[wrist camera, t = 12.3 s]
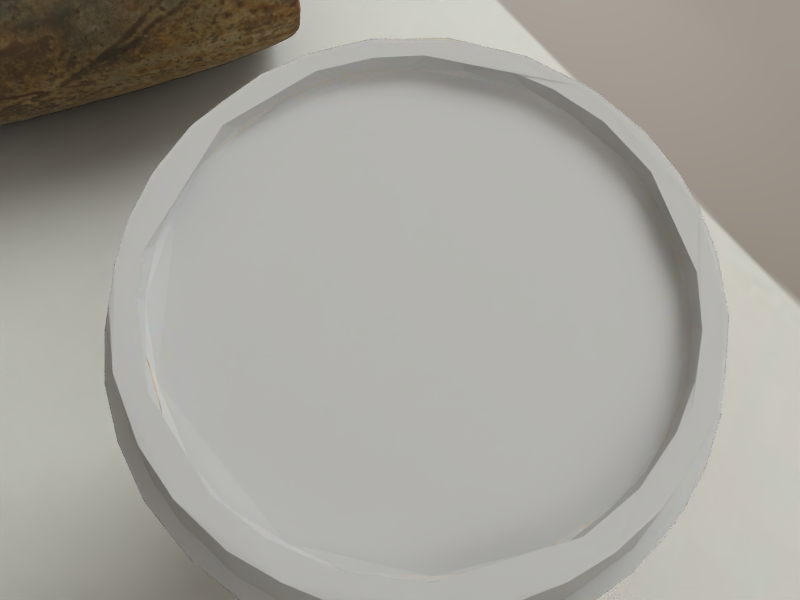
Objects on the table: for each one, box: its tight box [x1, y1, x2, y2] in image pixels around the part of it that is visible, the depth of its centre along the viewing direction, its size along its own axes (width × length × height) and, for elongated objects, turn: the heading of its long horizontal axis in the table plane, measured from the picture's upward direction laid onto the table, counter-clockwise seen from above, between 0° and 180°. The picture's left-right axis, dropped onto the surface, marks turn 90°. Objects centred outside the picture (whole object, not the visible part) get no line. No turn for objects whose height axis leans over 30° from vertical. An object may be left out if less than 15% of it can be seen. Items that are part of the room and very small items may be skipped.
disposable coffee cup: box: [105, 38, 729, 600], centre depth 16 cm, size 10×10×12 cm
